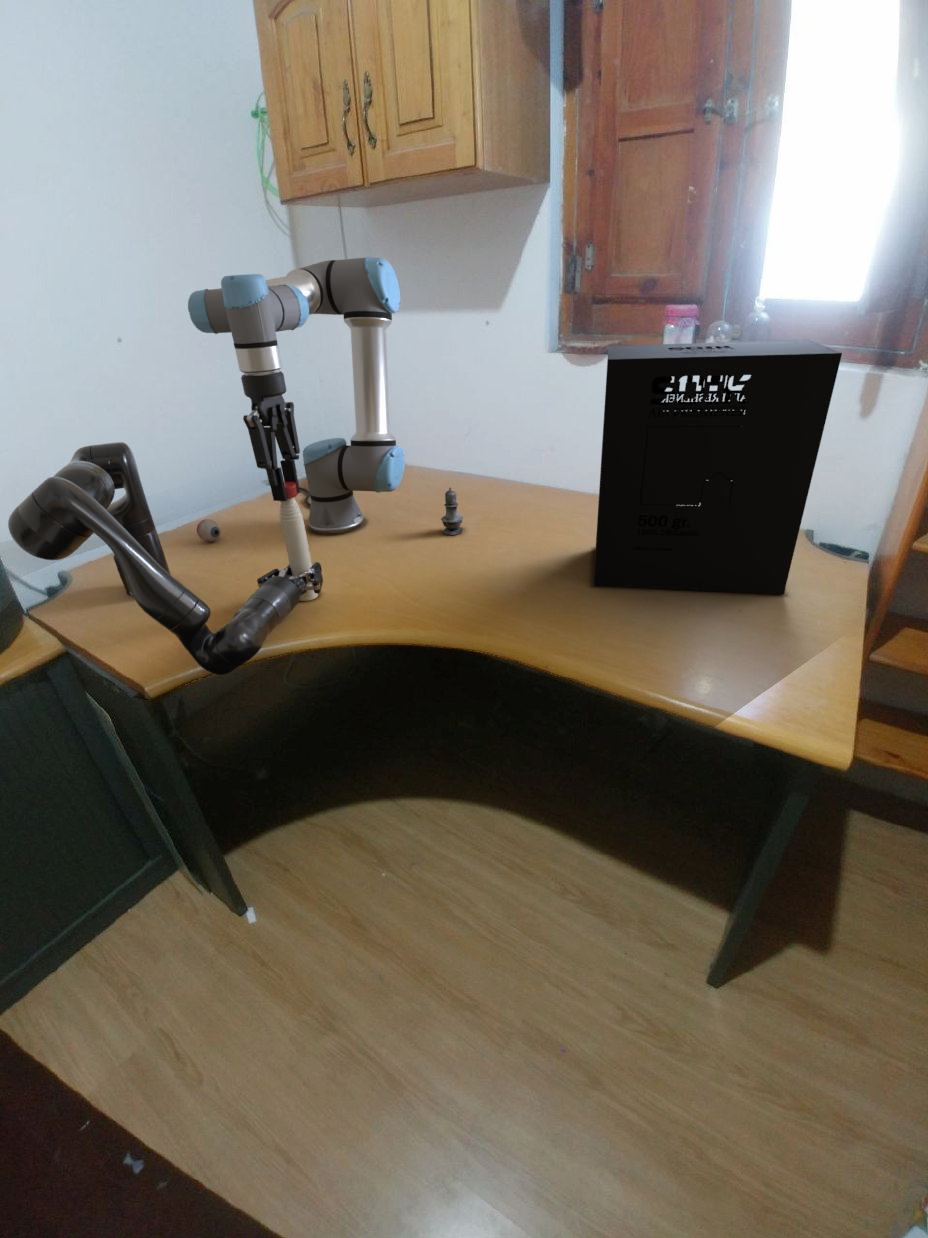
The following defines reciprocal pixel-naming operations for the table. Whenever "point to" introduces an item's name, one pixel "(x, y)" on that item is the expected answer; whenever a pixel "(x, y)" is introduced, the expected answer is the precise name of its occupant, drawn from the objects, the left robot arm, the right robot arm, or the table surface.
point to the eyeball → (208, 530)
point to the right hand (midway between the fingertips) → (287, 496)
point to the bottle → (296, 541)
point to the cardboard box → (709, 463)
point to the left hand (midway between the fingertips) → (307, 565)
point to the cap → (290, 489)
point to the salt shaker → (451, 515)
